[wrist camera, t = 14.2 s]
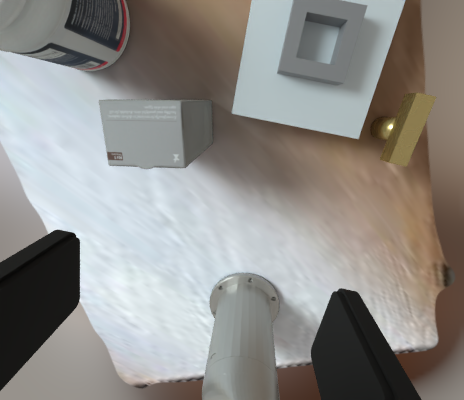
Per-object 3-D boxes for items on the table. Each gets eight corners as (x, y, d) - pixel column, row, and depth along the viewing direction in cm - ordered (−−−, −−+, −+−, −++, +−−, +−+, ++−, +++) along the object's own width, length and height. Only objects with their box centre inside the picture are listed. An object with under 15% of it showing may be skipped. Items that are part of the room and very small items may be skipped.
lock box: (342, 135, 38) (366, 141, 30) (234, 113, 38) (229, 113, 30) (389, -12, 32) (434, -54, 24) (262, -37, 32) (265, -87, 24)
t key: (403, 101, 36) (439, 97, 29) (381, 157, 39) (410, 167, 32) (382, 96, 36) (413, 91, 29) (361, 153, 39) (385, 161, 32)
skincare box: (212, 99, 38) (186, 90, 23) (213, 149, 40) (190, 171, 25) (155, 99, 38) (93, 90, 23) (159, 148, 41) (105, 169, 26)
